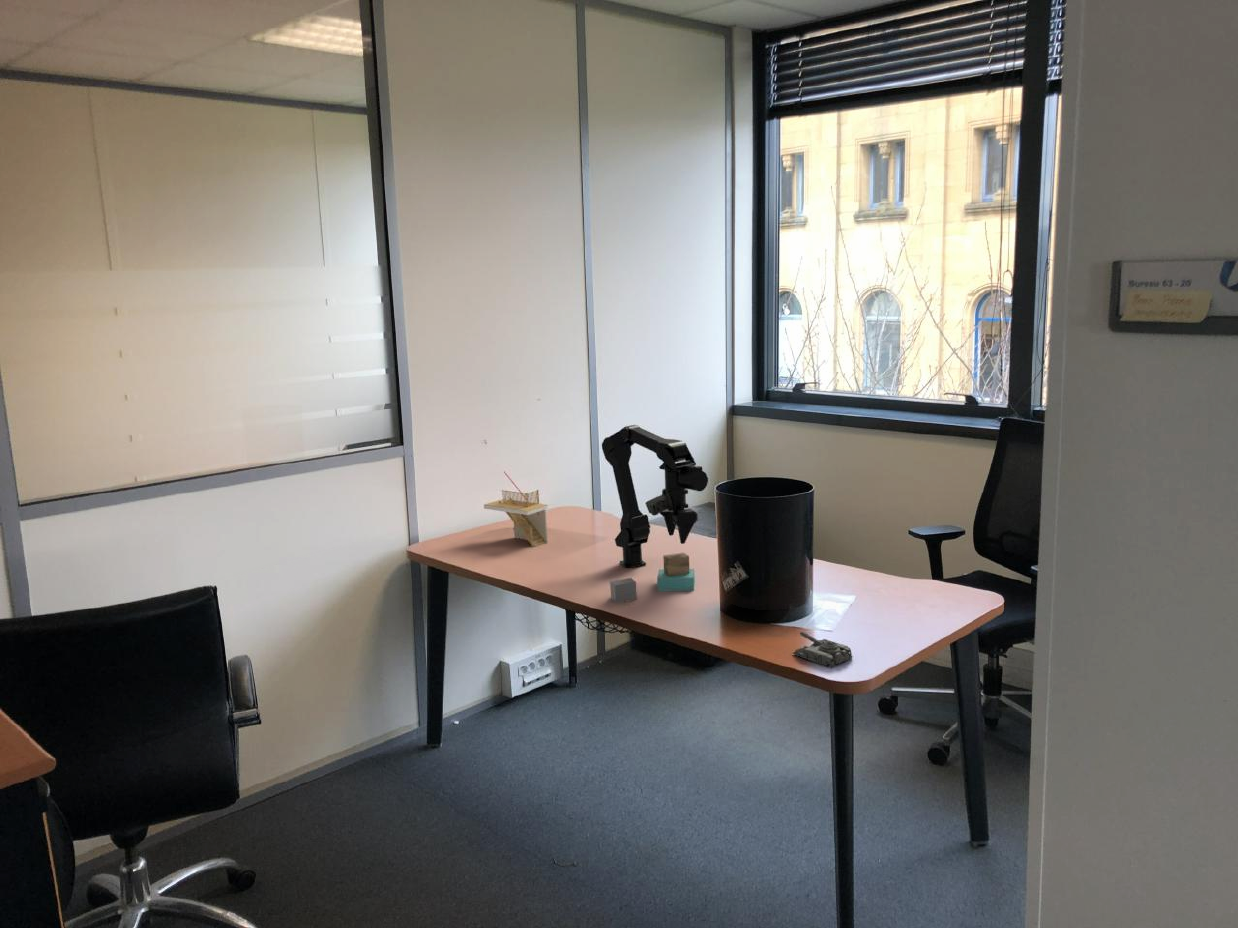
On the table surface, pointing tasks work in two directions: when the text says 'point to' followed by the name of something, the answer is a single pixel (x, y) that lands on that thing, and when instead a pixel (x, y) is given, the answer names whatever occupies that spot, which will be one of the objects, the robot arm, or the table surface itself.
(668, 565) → the walnut brick
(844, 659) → the tank toy
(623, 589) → the charcoal brick
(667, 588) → the teal brick
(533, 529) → the architectural model
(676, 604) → the table surface
